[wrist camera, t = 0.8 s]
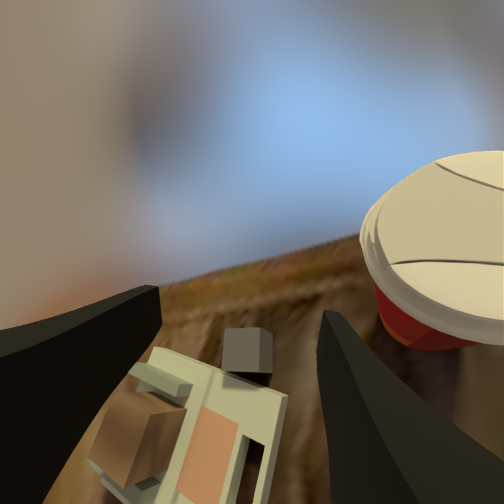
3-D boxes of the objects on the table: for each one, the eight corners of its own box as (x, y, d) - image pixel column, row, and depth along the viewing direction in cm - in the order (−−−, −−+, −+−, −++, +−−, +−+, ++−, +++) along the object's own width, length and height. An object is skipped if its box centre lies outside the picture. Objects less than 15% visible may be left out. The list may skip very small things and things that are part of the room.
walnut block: (167, 469, 20) (123, 488, 16) (133, 444, 22) (87, 456, 19) (187, 409, 22) (150, 414, 18) (153, 391, 24) (115, 393, 20)
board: (250, 588, 16) (221, 639, 13) (118, 474, 23) (78, 489, 20) (288, 395, 21) (273, 398, 17) (166, 348, 28) (140, 344, 25)
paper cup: (492, 292, 18) (693, 146, 7) (463, 389, 17) (664, 405, 5) (382, 259, 23) (396, 136, 11) (350, 333, 21) (327, 276, 10)
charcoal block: (273, 373, 22) (259, 372, 19) (239, 371, 23) (221, 370, 20) (272, 333, 24) (259, 327, 21) (241, 334, 25) (225, 328, 22)
